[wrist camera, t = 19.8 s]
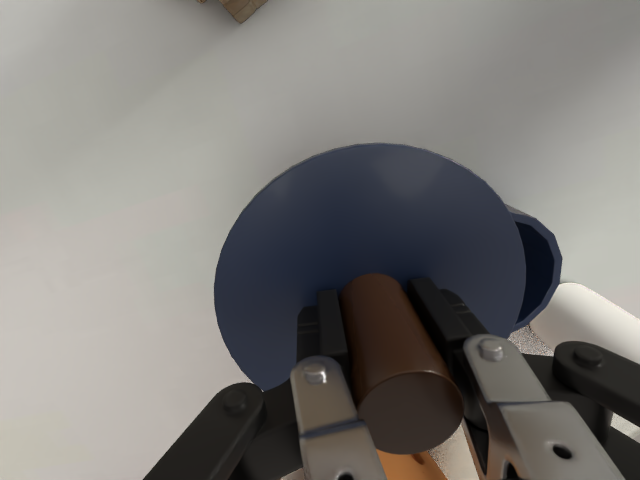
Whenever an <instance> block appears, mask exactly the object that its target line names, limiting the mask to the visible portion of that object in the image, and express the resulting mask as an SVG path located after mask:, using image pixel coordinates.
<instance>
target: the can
mask: <svg viewBox="0 0 640 480" xmlns="http://www.w3.org/2000/svg"><path fill="white" fill-rule="evenodd" d="M529 324H530V327H531V329H532V331H533V332H534V333H535V334H536V335H537V336H538V337H539V338H540V339H541V340H542V341H543V342H544V343H545V344H546V345H547V346H548V347H549V348H550V349H551V350H552V351H553V352H554V350H555V347H556V346H557V345H558V344H560V343H562V342H566V341H582V342H587V343H591V344H595V345H598V346H600V347H603V348H605V349H607V350H609V351H611V352H614V353H616V354H618V355H620V356H622V357H625V358H627V359H629V360H631V361H634V362H636V363H638V364H640V320H639V319H638V318H636V317H635V316H633V315H631V314H630V313H628V312H626V311H625V310H623V309H622V308H620V307H618V306H617V305H615V304H613V303H612V302H610V301H609V300H607V299H605V298H604V297H602V296H600V295H599V294H597V293H595V292H594V291H592V290H590V289H589V288H587V287H585V286H583V285H581V284H578V283H563V284H559V285H558V287H557V289H556V291H555V293H554V295H553V296H552V298H551V300H550V302H549V304H548V306H547V307H546V308H545V309H544V310H543V311H542V312H541V313H540V314H538V315H537V316H536V317H535V318H534V319H533V320H532V321H531V322H530V323H529Z"/></svg>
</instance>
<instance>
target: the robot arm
mask: <svg viewBox="0 0 640 480" xmlns="http://www.w3.org/2000/svg"><path fill="white" fill-rule="evenodd" d="M316 293H317V305H315V306H307V307H303V308H302V310H301V311H300V313H299V314H298V316H297V357H296V365H295V366H294V367H293V368H292V370H291V374H290V378H289V379H288V380H287V381H285V382H284V383H282V384H281V385H279V386H277V387H274V388H272V389H269V390H267V391H264V392H262V390H261V389H260V388H259V387H258V386H257V385H255V384H252V383H245V382H243V383H236V384H233V385H230V386H228V387H226V388H224V389H223V390H221V391H220V392H219V393H217V394H216V395H215V396H214V397H213V399H212V400H211V401H210V402H209V403H208V404H207V406H206V407H205V408H204V409H203V410H202V411H201V413H200V414H199V415H198V416H197V417H196V418H195V420H194V421H193V422H192V423H191V424H190V425H189V426H188V428H187V429H186V430H185V431H184V432H183V433H182V435H181V436H180V437H179V438H178V439H177V440H176V442H175V443H174V444H173V445H172V446H171V447H170V449H169V450H168V451H167V452H166V453H165V454H164V456H163V457H162V458H161V459H160V460H159V461H158V462H157V464H156V465H155V466H154V467H153V468H152V469H151V471H150V472H149V473H148V474H147V475H146V476H145V478H144V479H143V480H280V478H281V477H283V476H285V475H287V474H289V473H291V472H293V471H296V470H298V469H300V468H302V467H303V468H304V474H305V480H387V477H386V474H385V472H384V469H383V466H382V464H381V461H380V458H379V456H378V453H377V451H376V448H375V445H374V443H373V440H372V437H371V435H370V432H369V429H368V427H367V424H366V422H365V421H364V419H359V417H358V414H357V411H356V409H355V406H354V403H353V400H352V398H351V392H350V386H349V380H350V367H349V358H348V350H347V345H346V339H345V334H344V329H343V323H342V318H341V313H340V307H339V302H338V296H337V291H336V289H332V290H324V291H317V292H316ZM407 295H408V297H409V299H410V300H411V302H412V304H413V306H414V308H415V309H416V311H417V313H418V315H419V317H420V318H421V320H422V322H423V324H424V325H425V327H426V329H427V331H428V333H429V334H430V336H431V338H432V340H433V342H434V343H435V345H436V347H437V349H438V351H439V352H440V354H441V356H442V358H443V360H444V361H445V363H446V365H447V367H448V369H449V370H450V372H451V374H452V376H453V378H454V379H455V381H456V383H457V385H458V387H459V388H460V390H461V392H462V395H463V398H464V404H465V410H464V416H463V419H462V421H461V424H462V427H463V430H464V434H465V437H466V440H467V443H468V446H469V449H470V452H471V455H472V458H473V461H474V464H475V467H476V470H477V473H478V477H479V480H640V443H638V442H636V441H635V440H633V439H631V438H630V437H628V436H627V435H625V434H623V433H622V432H620V431H618V430H617V429H615V428H613V427H612V426H610V425H611V420H612V416H613V412H614V413H616V414H617V415H619V416H621V417H623V418H624V419H626V420H628V421H630V422H631V423H633V424H635V425H637V426H638V427H640V364H638V363H636V362H634V361H631V360H629V359H627V358H625V357H622V356H620V355H618V354H616V353H614V352H611V351H609V350H607V349H605V348H603V347H600V346H598V345H595V344H591V343H587V342H582V341H566V342H562V343H560V344H558V345H557V346H556V347H555V350H554V357H553V356H542V355H531V354H524V353H521V352H520V351H519V349H518V348H517V347H516V346H515V345H514V344H513V343H512V342H510V341H509V340H507V339H505V338H502V337H500V336H496V335H491V334H490V333H489V332H488V331H487V329H486V328H485V327H484V326H483V325H482V323H481V322H480V321H479V320H478V319H477V317H476V316H475V315H474V314H473V312H472V313H471V310H470V309H469V308H468V306H467V305H465V303H464V302H463V300H462V299H461V298H460V297H459V296H458V295H457V294H455V293H453V292H452V291H450V290H448V289H440V290H439V289H438V288H437V287H436V285H435V284H434V283H433V281H432V280H431V279H430V278H429V277H426V278H418V279H410V280H408V282H407Z"/></svg>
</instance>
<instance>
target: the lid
mask: <svg viewBox="0 0 640 480" xmlns="http://www.w3.org/2000/svg"><path fill="white" fill-rule="evenodd" d="M426 277H429V278H430V279H431V280H432V281H433V283H434V284H435V285H436V287H437V288H438V289H439V290H440V289H448V290H450V291H452V292H453V293H455V294H457V295H458V296H459V297H460V298H461V299H462V300H463V302H464V303H465V305H467V306H468V308H469V309H470V310H471V313H472V312H473V314H474V315H475V316H476V317H477V319H478V320H479V321H480V322H481V323H482V325H483V326H484V327H485V328H486V329H487V331H488V332H489V333H490V334H491V335H496V336H500V337H502V338H505V339H508V337H509V336H510V334H511V332H512V330H513V327H514V325H515V323H516V321H517V318H518V315H519V312H520V309H521V306H522V302H523V297H524V291H525V285H526V263H525V255H524V248H523V245H522V241H521V238H520V234H519V231H518V228H517V226H516V224H515V222H514V220H513V218H512V216H511V213H510V212H509V210H508V209H507V207H506V206H505V204H504V203H503V201H502V200H501V198H500V197H499V196H498V195H497V194H496V193H495V192H494V190H493V189H492V188H491V187H490V186H489V185H488V184H487V183H486V182H485V181H484V180H482V179H481V178H480V177H478V176H477V175H476V174H475V173H473V172H472V171H471V170H469V169H468V168H466V167H464V166H463V165H461V164H459V163H457V162H455V161H454V160H452V159H450V158H447V157H445V156H442V155H439V154H437V153H434V152H431V151H429V150H426V149H422V148H417V147H412V146H408V145H403V144H390V143H368V144H355V145H350V146H345V147H340V148H335V149H332V150H329V151H326V152H323V153H320V154H317V155H314V156H312V157H310V158H308V159H306V160H304V161H302V162H300V163H298V164H296V165H294V166H292V167H290V168H289V169H287V170H286V171H284V172H283V173H281V174H280V175H278V176H277V177H275V178H274V179H273V180H271V181H270V182H269V183H268V184H267V185H266V186H265V187H264V188H263V189H261V190H260V191H259V192H258V193H257V194H256V195H255V196H254V198H253V199H252V200H251V201H250V202H249V203H248V205H247V206H246V207H245V208H244V209H243V211H242V212H241V214H240V215H239V217H238V219H237V220H236V222H235V223H234V225H233V227H232V228H231V230H230V232H229V234H228V236H227V238H226V241H225V243H224V245H223V248H222V250H221V253H220V257H219V261H218V264H217V268H216V275H215V283H214V305H215V311H216V317H217V322H218V326H219V329H220V332H221V335H222V338H223V340H224V343H225V344H226V346H227V348H228V350H229V352H230V354H231V356H232V358H233V359H234V360H235V362H236V363H237V365H238V366H239V367H240V369H241V370H242V371H243V372H244V373H245V375H246V376H247V377H248V378H249V379H250V380H251V381H252V382H253V383H254V384H255V385H257V386H258V387H259V388H260V389H261V390H263V391H267V390H269V389H272V388H274V387H277V386H279V385H281V384H282V383H284V382H285V381H287V380H288V379H289V378H290V374H291V370H292V368H293V367H294V366H295V365H296V357H297V316H298V314H299V313H300V311H301V310H302V308H303V307H307V306H315V305H317V293H316V292H317V291H324V290H332V289H336V291H337V296H338V302H339V307H340V313H341V318H342V323H343V329H344V334H345V339H346V345H347V350H348V358H349V367H350V380H349V386H350V392H351V398H352V400H353V403H354V406H355V409H356V411H357V414H358V417H359V419H364V421H365V422H366V424H367V427H368V429H369V432H370V435H371V437H372V440H373V443H374V445H375V448H376V449H378V450H380V451H383V452H386V453H390V454H397V455H409V454H416V453H421V452H424V451H427V450H430V449H432V448H434V447H437V446H438V445H440V444H442V443H443V442H445V441H446V440H447V439H448V438H450V437H451V436H452V435H453V434H454V432H455V431H456V430H457V428H458V427H459V425H460V423H461V421H462V419H463V416H464V410H465V404H464V398H463V395H462V392H461V390H460V388H459V387H458V385H457V383H456V381H455V379H454V378H453V376H452V374H451V372H450V370H449V369H448V367H447V365H446V363H445V361H444V360H443V358H442V356H441V354H440V352H439V351H438V349H437V347H436V345H435V343H434V342H433V340H432V338H431V336H430V334H429V333H428V331H427V329H426V327H425V325H424V324H423V322H422V320H421V318H420V317H419V315H418V313H417V311H416V309H415V308H414V306H413V304H412V302H411V300H410V299H409V297H408V295H407V282H408V280H410V279H418V278H426Z"/></svg>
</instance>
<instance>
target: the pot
mask: <svg viewBox="0 0 640 480" xmlns="http://www.w3.org/2000/svg"><path fill="white" fill-rule="evenodd" d="M505 206H506V207H507V209H508V210H509V212H510V213H511V216H512V218H513V220H514V222H515V224H516V226H517V228H518V231H519V234H520V238H521V241H522V245H523V248H524V255H525V263H526V285H525V291H524V297H523V302H522V306H521V309H520V312H519V315H518V318H517V321H516V323H515V325H514V327H513V330H512V332H514V331H516V330H518V329H520V328H522V327H525V326H526V325H528V324H529V323H530V322H531V321H532V320H533V319H534V318H535V317H536V316H537V315H538V314H540V313H541V312H542V311H543V310H544V309H545V308H546V307H547V306H548V304H549V302H550V300H551V298H552V296H553V295H554V293H555V291H556V289H557V287H558V285H559V283H560V275H561V266H562V255H561V253H560V250H559V247H558V244H557V241H556V238H555V236H554V234H553V233H552V232H551V231H549V230H548V229H547V228H546V227H545V226H544V225H543V224H542V223H541V222H539V221H538V220H537V219H536V218H534V217H532V216H530V215H528V214H525V213H523V212H521V211H519V210H517V209H515V208H512V207H510V206H508V205H506V204H505ZM512 332H511V333H512Z"/></svg>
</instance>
